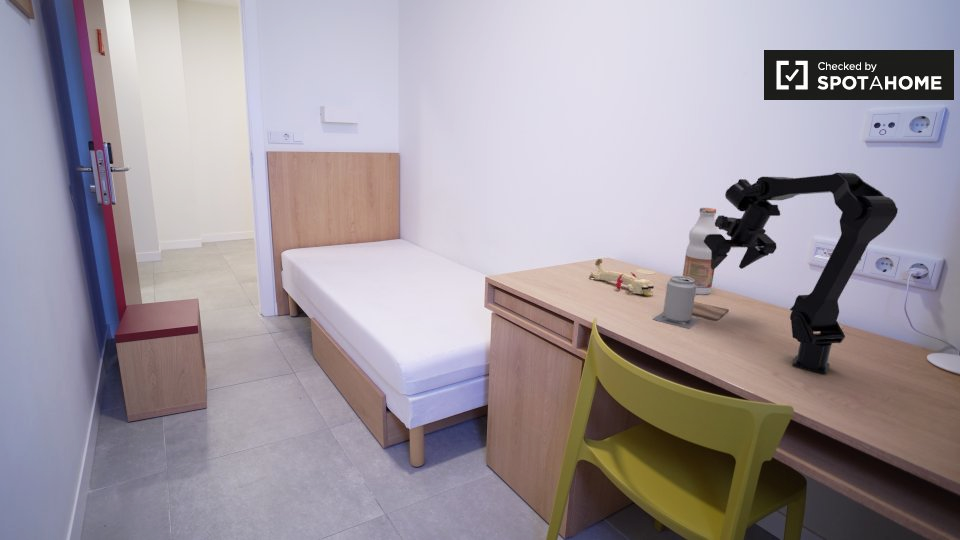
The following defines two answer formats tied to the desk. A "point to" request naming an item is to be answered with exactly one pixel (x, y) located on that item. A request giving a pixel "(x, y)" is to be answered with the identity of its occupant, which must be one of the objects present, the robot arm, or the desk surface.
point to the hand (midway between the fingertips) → (726, 268)
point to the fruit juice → (700, 252)
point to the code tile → (685, 325)
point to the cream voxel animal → (623, 280)
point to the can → (679, 299)
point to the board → (708, 311)
